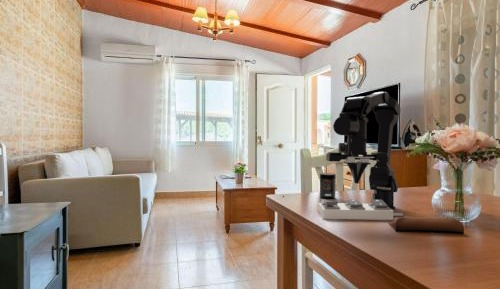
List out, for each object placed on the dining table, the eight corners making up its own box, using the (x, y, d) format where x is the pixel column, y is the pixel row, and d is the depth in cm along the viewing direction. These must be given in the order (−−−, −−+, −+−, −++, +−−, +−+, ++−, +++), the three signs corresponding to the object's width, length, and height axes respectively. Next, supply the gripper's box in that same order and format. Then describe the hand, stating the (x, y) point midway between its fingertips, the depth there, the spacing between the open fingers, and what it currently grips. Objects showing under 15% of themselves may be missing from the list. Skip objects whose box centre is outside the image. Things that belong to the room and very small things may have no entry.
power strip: (396, 212, 108) (396, 202, 108) (409, 220, 98) (409, 209, 98) (318, 211, 109) (318, 201, 109) (323, 218, 99) (323, 207, 99)
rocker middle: (357, 202, 105) (357, 199, 105) (362, 207, 100) (362, 204, 100) (347, 202, 105) (347, 199, 105) (351, 207, 100) (351, 204, 100)
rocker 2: (381, 202, 105) (381, 199, 105) (387, 208, 100) (387, 205, 99) (370, 201, 105) (371, 199, 105) (376, 208, 100) (376, 205, 100)
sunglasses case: (448, 225, 92) (454, 208, 89) (459, 244, 86) (466, 227, 83) (385, 223, 94) (389, 207, 91) (392, 241, 88) (397, 225, 85)
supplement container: (333, 196, 137) (333, 173, 137) (337, 199, 130) (337, 174, 130) (318, 196, 137) (318, 172, 137) (321, 199, 131) (321, 174, 130)
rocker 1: (334, 204, 106) (334, 201, 106) (337, 204, 100) (337, 201, 101) (323, 203, 106) (323, 201, 106) (326, 204, 101) (326, 201, 101)
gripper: (377, 135, 108) (376, 180, 108) (323, 135, 109) (323, 179, 109) (390, 135, 97) (389, 185, 97) (329, 135, 98) (329, 184, 98)
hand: (356, 183), depth 100 cm, fingers closed
